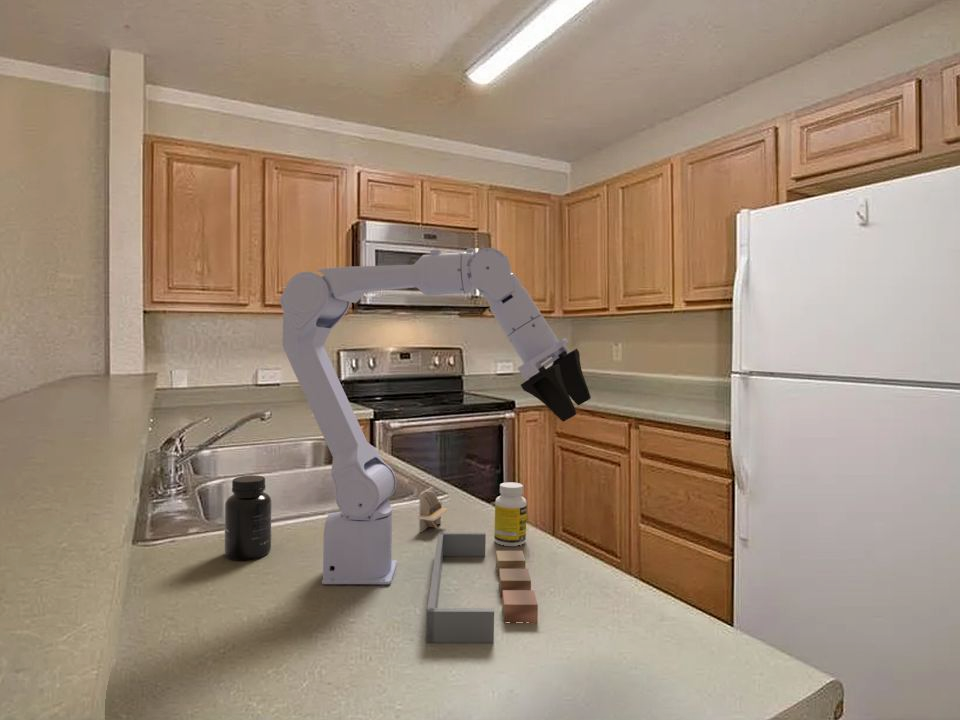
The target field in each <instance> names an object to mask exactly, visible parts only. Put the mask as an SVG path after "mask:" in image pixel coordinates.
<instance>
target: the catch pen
mask: <svg viewBox="0 0 960 720" xmlns="http://www.w3.org/2000/svg"><path fill="white" fill-rule="evenodd" d="M486 534H487V533H486V532H438V533H437V539H436V547H435V554H434V561H433V567H432V574H431V581H430V588H429V596H428V600H427V602H428V603H427V608H426V643H427V644H429V643H430V644H439V643H441V644H442V643H443V644H444V643H445V644H446V643H448V644H451V643H452V644H453V643H454V644H456V643H458V644H463V643H464V644H465V643H466V644H469V643H471V644H473V643H474V644H475V643H477V644H478V643H479V644H481V643H485V644H486V643H487V644H488V643H489V644H490V643H491V644H493V643H492V642H494V643H495V608H494V607H491V608H490V607H489V608H488V607H486V608H485V607H483V608H481V607H474V608H473V607H472V608H471V607H469V608H467V607H466V608H465V607H464V608H463V607H460V608H459V607H457V608H456V607H455V608H453V607H452V608H451V607H447V608H445V607H443V608H442V607H440V608H439V596H440V589H441V588H440V587H441V579H442V570H443V569H442V567H443V559H444V557H486V544H487V543H486V542H487V541H486V537H487V536H486Z"/></svg>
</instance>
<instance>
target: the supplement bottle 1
mask: <svg viewBox="0 0 960 720" xmlns="http://www.w3.org/2000/svg"><path fill="white" fill-rule="evenodd" d="M231 481H232V484H231V485H232V486H231V492H232V493H233V494H232V495H231V496H229V497H227V499H226V501H225V503H224V556H225V557H226V558H227V559H229V560H231V561H236V562H238V561H239V562H246V561H252V560H253V561H254V560H257V559H261V558H263V557H265V556H267V555H268V554H269V553H270V552H271V549H272V504H273V503H272V498H271V496H270V495H269V494H268V493H267V492H265V490H266V489H267V488H266V477H264V476H262V475H253V474H252V475H251V474H250V475H241V476H238V477H234V478H233V479H232V480H231Z"/></svg>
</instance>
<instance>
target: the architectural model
mask: <svg viewBox="0 0 960 720" xmlns="http://www.w3.org/2000/svg"><path fill="white" fill-rule="evenodd" d="M433 489H434V487H433V486H431V487H429V488H427V489H426V490H424V491H422V492H420V493H419V512H418V513H419V515H418V516H417V519H418V520H419V522H418V533H419V532H421V533H422V532H424V531H425V530H426V529H427V528H438V525H437V524H442V516H443V515H444V514H446V513H448V511H449V508H447V507H442V504H443V503H442V499H440V500H439V499H438V496H437V494H436V492H435V491H434V490H433ZM424 529H425V530H424Z"/></svg>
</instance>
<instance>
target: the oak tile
mask: <svg viewBox="0 0 960 720" xmlns="http://www.w3.org/2000/svg"><path fill="white" fill-rule="evenodd" d="M525 557H526V556H525V555H524V552H523V550H495V568H497V569H496V574H498V575H497V577H499V569H526V558H525Z"/></svg>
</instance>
